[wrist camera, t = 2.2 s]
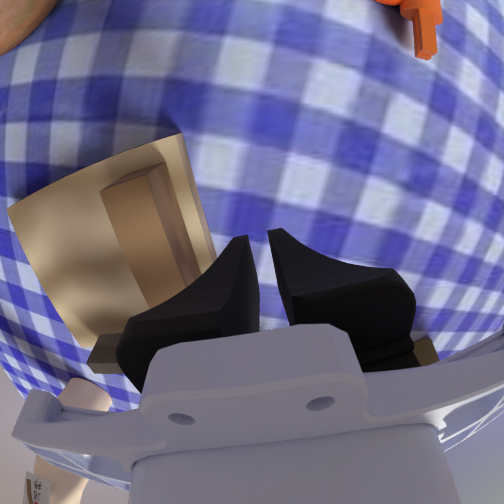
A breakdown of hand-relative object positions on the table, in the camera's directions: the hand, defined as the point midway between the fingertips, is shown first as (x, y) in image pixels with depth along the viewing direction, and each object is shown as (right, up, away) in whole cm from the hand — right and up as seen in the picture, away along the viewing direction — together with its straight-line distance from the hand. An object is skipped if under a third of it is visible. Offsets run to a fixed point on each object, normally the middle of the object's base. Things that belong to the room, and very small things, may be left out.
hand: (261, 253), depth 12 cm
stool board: (-12, -1, +11) cm, 16 cm away
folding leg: (-6, 0, +8) cm, 10 cm away
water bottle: (-26, -21, +21) cm, 40 cm away
